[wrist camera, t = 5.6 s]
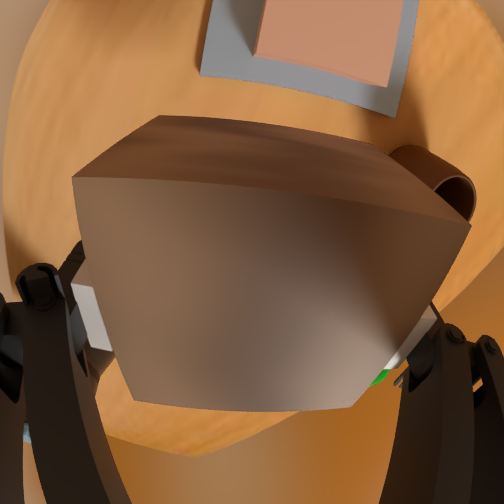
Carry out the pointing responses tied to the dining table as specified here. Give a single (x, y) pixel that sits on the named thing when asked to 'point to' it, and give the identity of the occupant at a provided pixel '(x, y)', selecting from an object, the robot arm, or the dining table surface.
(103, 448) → the robot arm
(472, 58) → the dining table surface
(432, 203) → the walnut block
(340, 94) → the plate
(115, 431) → the dining table surface
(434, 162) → the mug
